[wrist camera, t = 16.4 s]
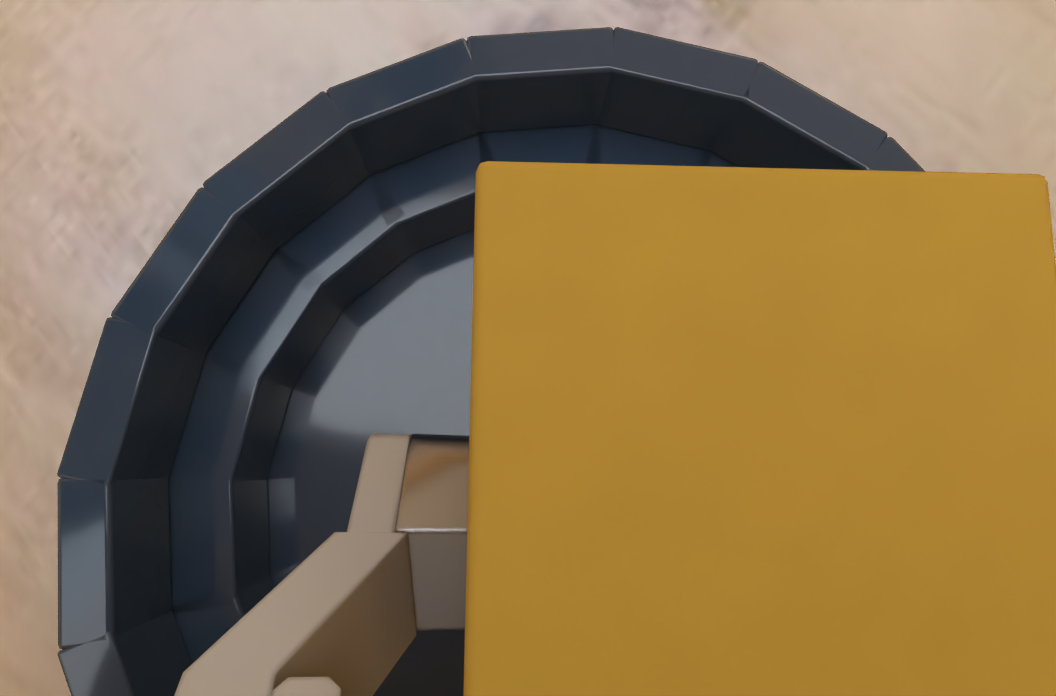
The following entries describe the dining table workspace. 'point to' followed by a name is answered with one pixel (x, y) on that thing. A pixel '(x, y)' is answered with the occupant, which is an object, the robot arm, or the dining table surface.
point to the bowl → (352, 321)
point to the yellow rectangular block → (761, 433)
